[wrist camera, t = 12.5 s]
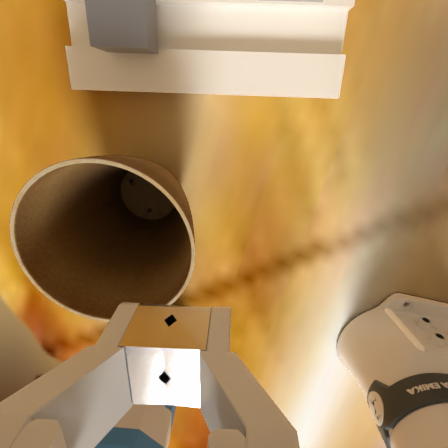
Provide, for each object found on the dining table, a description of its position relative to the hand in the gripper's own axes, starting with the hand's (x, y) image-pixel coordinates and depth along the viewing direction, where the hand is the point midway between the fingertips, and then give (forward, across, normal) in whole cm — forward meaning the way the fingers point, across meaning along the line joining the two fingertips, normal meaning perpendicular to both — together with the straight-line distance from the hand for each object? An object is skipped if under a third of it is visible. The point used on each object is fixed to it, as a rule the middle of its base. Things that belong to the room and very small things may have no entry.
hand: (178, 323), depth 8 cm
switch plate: (+31, +2, -12) cm, 33 cm away
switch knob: (+29, +9, -12) cm, 33 cm away
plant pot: (+31, +9, +6) cm, 33 cm away
